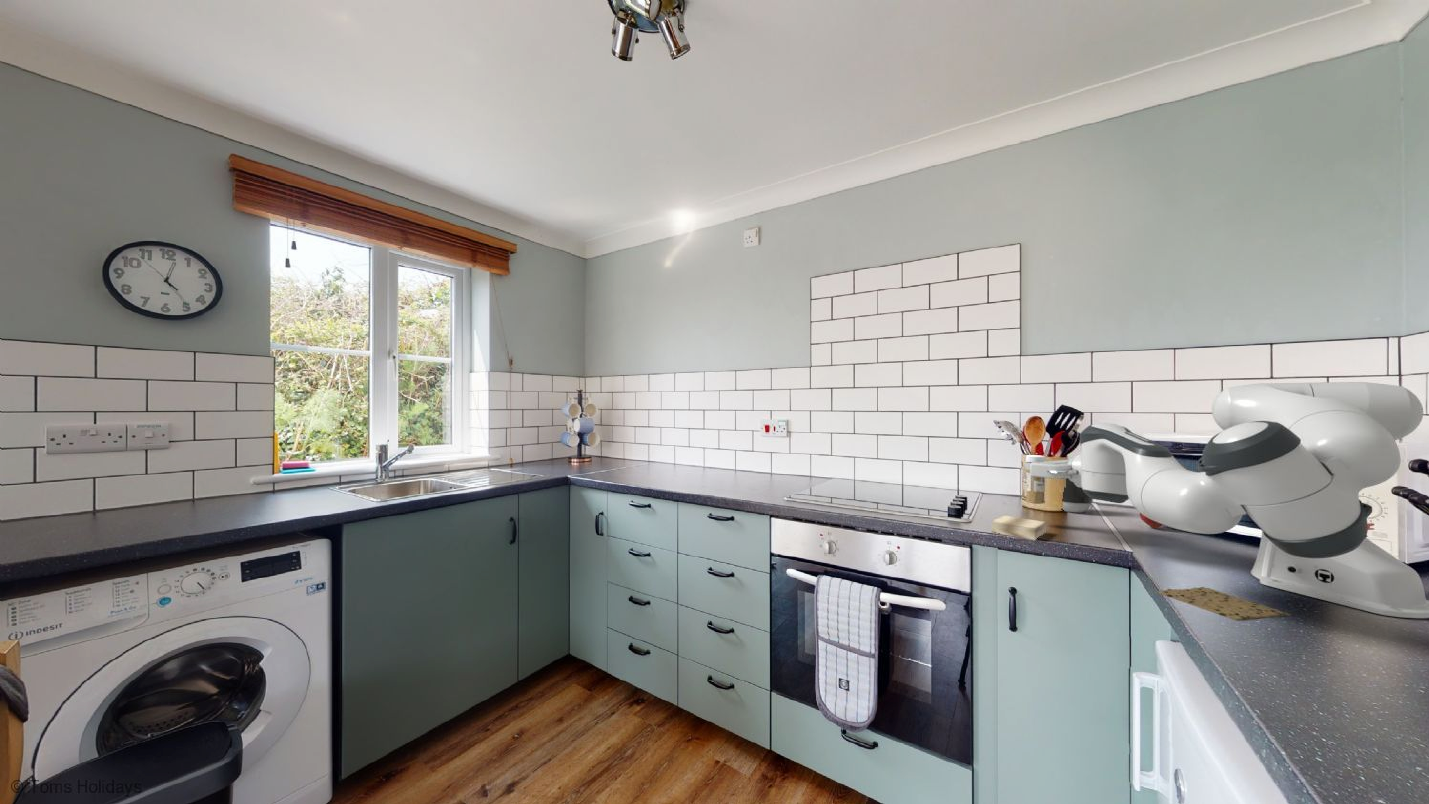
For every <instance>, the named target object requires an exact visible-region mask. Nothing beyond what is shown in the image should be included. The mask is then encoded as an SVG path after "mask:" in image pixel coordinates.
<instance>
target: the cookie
mask: <svg viewBox="0 0 1429 804" xmlns="http://www.w3.org/2000/svg"><path fill="white" fill-rule="evenodd" d="M1157 593H1158V594H1160V595H1164V596H1165V597H1168V598H1172V599H1174V600H1177V601H1179V602H1183V603H1186V604H1188V605H1191V606H1194V607H1197V608H1199V609H1202V610H1206V611H1208V612H1211V613H1213V614H1216V615H1219V616H1221V617H1224V618H1227V619H1230V620H1234V621H1239V622H1240V621H1246V620H1247V621H1248V620H1258V619H1267V618H1276V617H1277V618H1279V617H1287V616H1291V614H1290V613H1288V612H1285V611H1283V610H1282V611H1281V610H1279V609H1275V608H1272V607H1270V606H1265V605H1263V604H1260V603H1255V602H1252V601H1249V600H1247V599H1244V598H1241V597H1237V596H1235V595H1231V594H1228V593H1225V592H1222V591H1218V590H1216V589H1212V588H1209V587H1204V586H1201V587H1192V588H1183V589H1180V588H1179V589H1176V588H1175V589H1170V588H1167V589H1165V590H1164V589H1163V590H1159V591H1157Z"/></svg>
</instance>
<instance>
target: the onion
mask: <svg viewBox="0 0 1429 804" xmlns="http://www.w3.org/2000/svg"><path fill="white" fill-rule="evenodd" d="M1139 516H1140V519H1141V520H1142V521H1143V522H1144V523H1145V524H1146V525H1147V526H1149V528H1151V529H1154V530H1155V529H1157V528H1161V527H1162V526H1164V525H1163V524H1161V523H1158V522H1155V521H1153V520H1151V519H1149V518H1147V517H1146V516H1144V515H1143V514H1141V513H1140V512H1139Z"/></svg>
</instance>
